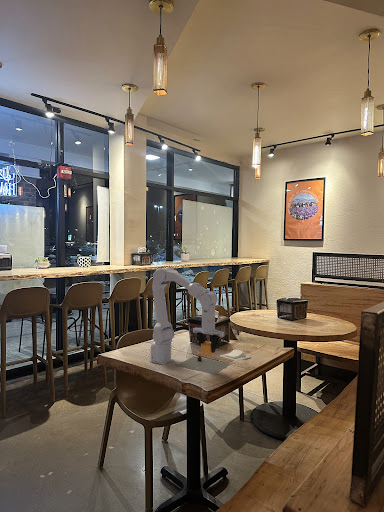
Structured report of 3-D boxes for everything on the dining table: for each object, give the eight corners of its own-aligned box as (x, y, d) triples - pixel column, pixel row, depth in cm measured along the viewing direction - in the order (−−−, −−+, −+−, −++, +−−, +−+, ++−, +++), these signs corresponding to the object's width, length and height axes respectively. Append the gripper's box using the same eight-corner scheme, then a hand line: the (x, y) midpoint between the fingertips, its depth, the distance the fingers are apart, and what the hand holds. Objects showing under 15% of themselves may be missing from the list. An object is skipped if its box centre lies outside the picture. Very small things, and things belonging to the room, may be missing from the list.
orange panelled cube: (200, 353, 149) (200, 343, 149) (206, 351, 153) (206, 340, 153) (210, 355, 147) (210, 344, 147) (215, 352, 151) (215, 342, 151)
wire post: (196, 360, 161) (196, 353, 161) (198, 359, 163) (198, 352, 163) (200, 361, 160) (200, 353, 160) (202, 360, 162) (202, 352, 162)
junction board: (175, 367, 155) (175, 365, 154) (193, 358, 168) (193, 356, 168) (214, 376, 144) (214, 374, 144) (231, 365, 158) (231, 363, 158)
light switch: (252, 351, 170) (236, 355, 161) (252, 360, 170) (235, 364, 161) (234, 347, 178) (218, 350, 169) (234, 355, 178) (218, 359, 169)
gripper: (189, 319, 150) (189, 350, 151) (219, 323, 143) (218, 356, 143) (197, 316, 156) (197, 346, 157) (226, 320, 149) (226, 352, 149)
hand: (208, 351), depth 150 cm, fingers closed on orange panelled cube, 5 cm apart
